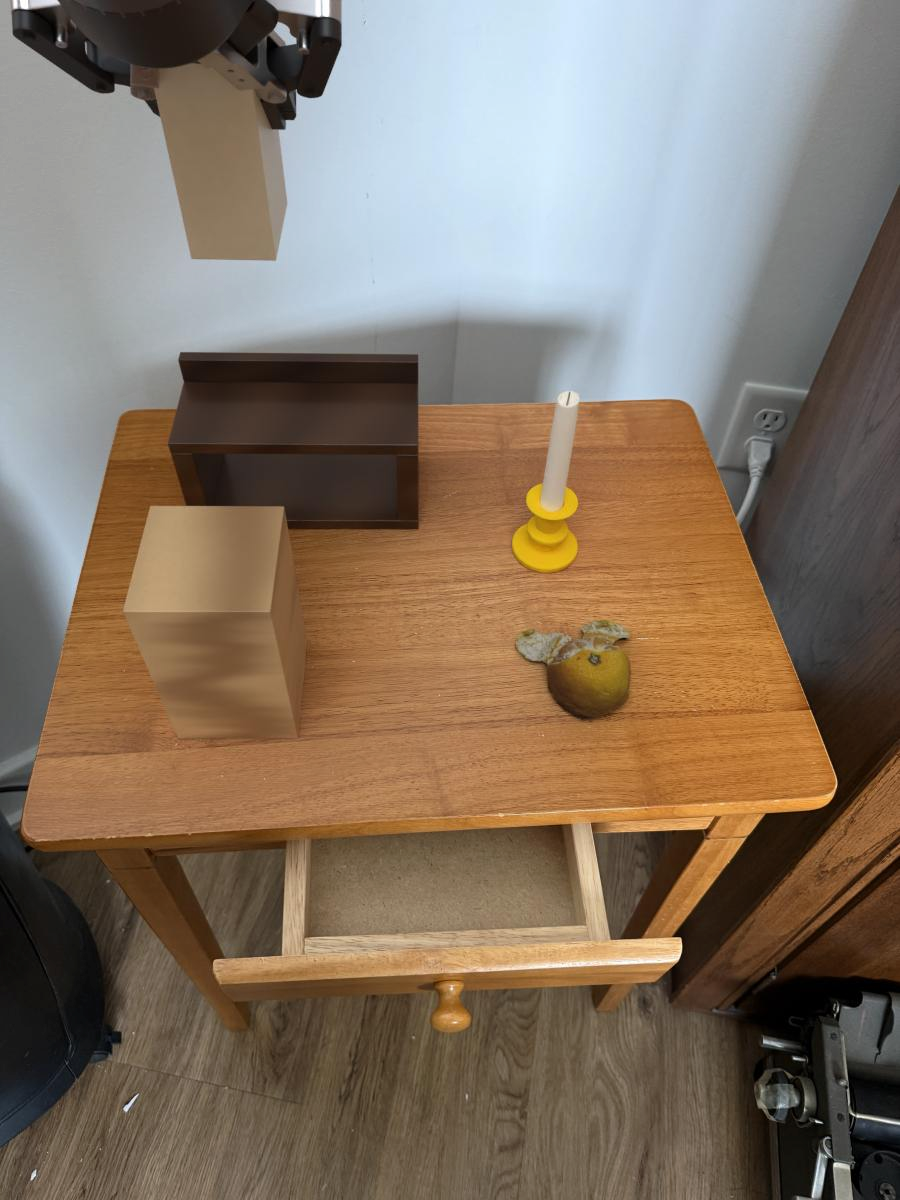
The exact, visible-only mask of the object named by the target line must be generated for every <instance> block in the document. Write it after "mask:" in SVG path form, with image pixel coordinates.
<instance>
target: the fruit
mask: <svg viewBox="0 0 900 1200" xmlns="http://www.w3.org/2000/svg"><path fill="white" fill-rule="evenodd" d="M579 629H581V630H582V632H583V636H582V638H581V639H579V638H575V639H573V640H572V636H570V635H568V634H565V633H564V632H552V633H543V632H540V631H537V630H536V629H535V628H530V629H527V630H525V631H524V630H522V631H520V634H519V635H518V636H517V637H516V639H515V644H514V645H515V648H516V650H517V651H518V653H519V654H520V655H521V656H522V657H523V658H525V659H526V660H527V661H529V662H543V663H545V664H546V676H547V688H548V690H549V693H550V694H551V695H552V697H553V700H554V701H556V703H557V704H558V706H560V708H561V709H562V710H564V711H565V712H567V713H568V714H570V715H571V716H573V717H575V718H579V719H584V720H585V719H586V720H588V719H595V718H599V717H601V716H603V715H608V714H611V713H612V712H615V711H617V709H618V708H619V707H621V706H623V705H624V704H625V703H627V701H628V700H629V697H630V684H631V673H632V671H631V661H630V659H629V656H628V654H627V653H626V652H625V651H624V650H622V649H621V648H620V647H619V646H617V645H615V643H616V642H617V641H620V642H621V641H625V640H630V639H631V637H632V635H631V632H630V630H628V629H627V628H626V627H625V626H623V625H621V624H618V623H617V622H613V621H610V620H609V619H601V620H592V621H590V622H588V624H586V625H583V626H582V627H581V626H580V627H579Z"/></svg>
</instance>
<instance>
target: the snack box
mask: <svg viewBox="0 0 900 1200" xmlns="http://www.w3.org/2000/svg"><path fill="white" fill-rule="evenodd" d="M154 91H155V95H156V100H157V104H158V109H159V113H160V117H159V119H160V123H161V126H162V127H161V128H162V131H163V136H164V140H165V146H166V149H167V150H166V151H167V154H168V160H169V164H170V168H171V173H172V177H173V182H174V185H175V191H176V196H177V200H178V205H179V208H180V213H181V219H182V223H183V227H184V232H185V236H186V241H187V246H188V250H189V255H190V259H191V260H215V261H216V260H217V261H219V260H220V261H223V260H224V261H267V262H268V261H272V262H273V261H275V262H276V261H277V257H278V252H279V247H280V242H281V238H282V232H283V227H284V223H285V222H284V221H285V217H286V212H287V208H288V196H287V191H286V190H287V188H286V179H285V170H284V163H283V156H282V148H281V138H280V130H272V128H271V126H270V123H269V121H268V119H267V116H266V114H265V112H264V109H263V107H262V104H261V102H260V97H259V96H258V95H257V94H256V92H255V90H254V89H250V90H242V91H240V90H238V89H237V88H236V87H235V86H233V85H232V84H231V83H230V82H229V81H228V80H226V79H225V78H224V77H223V76H222V75H221V74H219V73H218V72H217V71H216V70H215V69H214V68H209V69H207V68H205V67H204V66H203V65H202V64H196V63H190V64H187V65H183V66H179V67H174V68H164V69H160V81H159V89H157V88H154Z"/></svg>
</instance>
